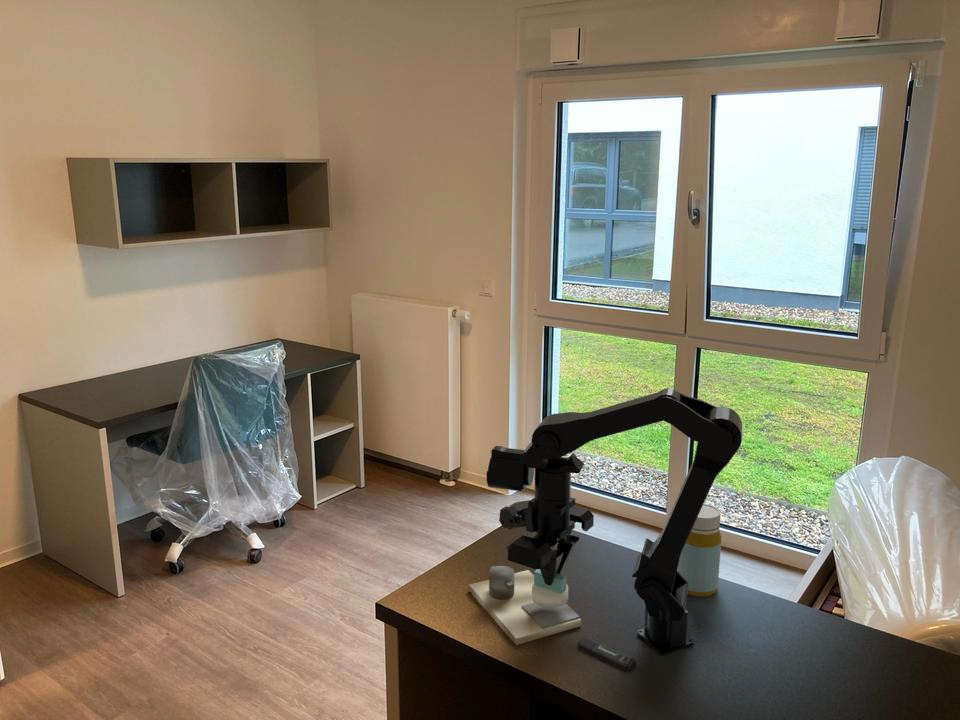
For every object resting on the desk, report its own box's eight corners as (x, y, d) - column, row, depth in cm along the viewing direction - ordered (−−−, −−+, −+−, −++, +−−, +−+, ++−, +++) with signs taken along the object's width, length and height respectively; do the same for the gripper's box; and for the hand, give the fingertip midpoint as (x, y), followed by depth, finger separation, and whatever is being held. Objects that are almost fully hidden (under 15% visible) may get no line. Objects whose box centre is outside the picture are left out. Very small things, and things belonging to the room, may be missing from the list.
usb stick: (575, 649, 121) (575, 640, 121) (584, 642, 123) (585, 633, 123) (627, 674, 115) (628, 665, 115) (637, 666, 117) (637, 657, 116)
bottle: (713, 579, 141) (718, 502, 137) (720, 599, 134) (726, 520, 130) (674, 577, 141) (678, 501, 138) (680, 597, 135) (684, 518, 131)
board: (580, 626, 126) (581, 597, 125) (516, 645, 122) (516, 615, 120) (528, 575, 142) (528, 550, 141) (468, 590, 137) (468, 564, 136)
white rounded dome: (556, 611, 124) (557, 587, 123) (524, 600, 127) (525, 576, 126) (574, 595, 128) (575, 571, 127) (543, 584, 132) (543, 561, 131)
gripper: (538, 465, 135) (537, 546, 139) (477, 502, 120) (478, 592, 124) (596, 479, 129) (593, 563, 133) (539, 519, 114) (538, 614, 118)
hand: (551, 582), depth 127 cm, fingers closed on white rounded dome, 2 cm apart
